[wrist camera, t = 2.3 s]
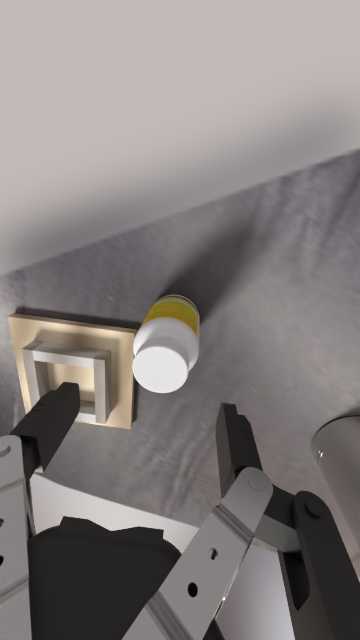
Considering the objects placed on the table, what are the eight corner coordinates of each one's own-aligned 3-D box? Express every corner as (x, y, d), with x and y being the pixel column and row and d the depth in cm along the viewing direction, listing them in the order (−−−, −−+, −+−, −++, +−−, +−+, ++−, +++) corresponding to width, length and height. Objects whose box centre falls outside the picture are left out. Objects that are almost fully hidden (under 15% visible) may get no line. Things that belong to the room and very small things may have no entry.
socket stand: (136, 329, 26) (129, 342, 24) (132, 423, 32) (126, 442, 29) (14, 313, 27) (-8, 323, 24) (30, 408, 32) (15, 426, 29)
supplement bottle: (145, 296, 25) (114, 339, 16) (196, 290, 24) (195, 332, 15) (154, 342, 27) (131, 403, 18) (201, 337, 26) (203, 399, 17)
